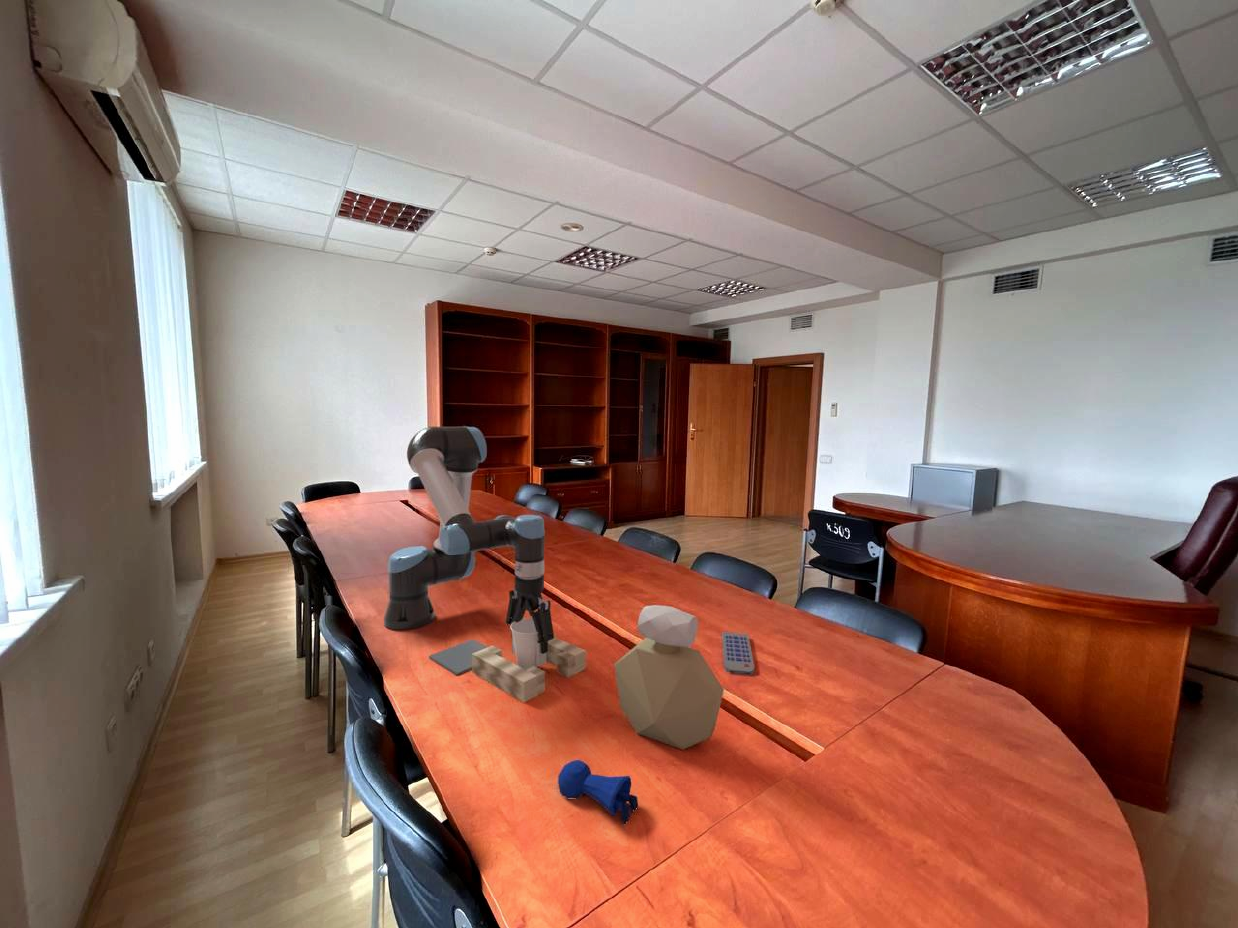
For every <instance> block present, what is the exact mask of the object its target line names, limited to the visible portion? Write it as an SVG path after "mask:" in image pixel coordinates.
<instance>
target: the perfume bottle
mask: <svg viewBox="0 0 1238 928" xmlns="http://www.w3.org/2000/svg"><path fill="white" fill-rule="evenodd" d="M637 621H638V622H637V631H638V633H639V635H640V636H643V637H644V638H643V639H642V640H641V641H640V642H638V644H636V645H635V646H633V648H631V649H630V650H629V651H628V652H627V653H626V654H624V655H623V656H622V657H620V659H618V660H617V661H616V662H615V663H613V666H614V673H615V681H616V685H617V693H618V700H619V706H620V707H619V708H620V709H621V711H622V712H623V714H624V715H625V717H626V719H627V720H628V722H629V723H630V724H631V726H632V728H633V729H634V731H635V732H636V734H638V735H641V736H643V737H647V738H649V739H652V740H654V741H658V742H660V743H663V744H665V745H669V746H671V747H674V748H677V749H680V750H684V751H685V750H686V749H688V748H691V747H693V746H695V745H696V744H699V743H701V742H703V741H705V740H707V739H709V738H711V737H712V735H713V733H714V731H715V729H716V725H717V720H718V716H719V712H720V707H721V704H722V699H723V695H724V691H725V690H724V688H723V686H722V684H721V682H720V681H719V680H718V678H717V676H716V675H715V674H714V672H713V670H712V669H711V668H710V666H709V664H708V662H707V661H706V660H705V658H704V656H703V655H702V653H701V651H700V650H699V649H697V648H691V647H692V646H693V645H694V643H695V642H696V639H697V635H698V629H699V623H698V618H697V616H696V615H693V614H691V613H688V612H685V611H683V610H681V609H678V608H675V607H673V606H668V605H659V604H657V605H646V606H644V607H643V609H641V610H640V614H639V617H638V620H637Z"/></svg>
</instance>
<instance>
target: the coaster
mask: <svg viewBox="0 0 1238 928" xmlns="http://www.w3.org/2000/svg"><path fill="white" fill-rule="evenodd" d="M487 647H488V646H487V645H485V644H483V643H482V642H479V641H477V640H475V639H473V638H471V639H469V640H466V641H464V642H461V643H459V644H456V645H453V646H451V647H448V648H446V649H443V650H441V651H438V652H435V653H433V654H429V655H428V658H429V659H430V660H431V661H433V662H434V663H436V664H438V665H440V666H441V667H443V668H444V669H446V670H447V671H449V672H451V673H452V674H454V675H456V676H460V675H461V674H464V673H466V672H468V671H470V670H471V671H472V654H473V653H475V652H478V651H480V650H483V649H485V648H487Z"/></svg>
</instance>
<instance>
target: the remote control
mask: <svg viewBox="0 0 1238 928" xmlns="http://www.w3.org/2000/svg"><path fill="white" fill-rule="evenodd" d="M721 639H722V640H721V641H722V643H723V644H722V643H721V644H722V657H723V658H724V659H723V669H725V670H726V671H727V672H726V671H725V670H724V671H725V672H726V673H728V672H729V673H728V674H731V673H733V675H741V674H742V675H743V676H752V675H754V674H755V662H754V658H753V652H752V647H751V642H750V637H749V634H747V633H738V632H736V633H735V632H726V631H722V632H721ZM751 674H752V675H751Z"/></svg>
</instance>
